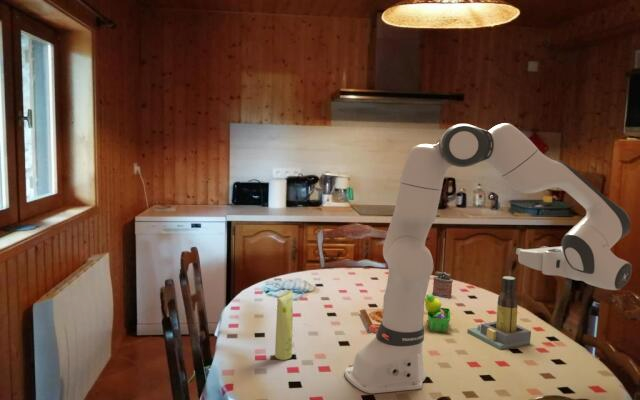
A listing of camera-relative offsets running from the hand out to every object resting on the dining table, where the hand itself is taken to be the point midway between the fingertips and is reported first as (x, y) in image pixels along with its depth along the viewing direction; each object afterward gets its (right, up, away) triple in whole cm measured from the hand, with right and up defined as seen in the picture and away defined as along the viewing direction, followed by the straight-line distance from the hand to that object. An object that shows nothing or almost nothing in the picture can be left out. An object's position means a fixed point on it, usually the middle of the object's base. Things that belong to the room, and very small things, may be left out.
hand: (529, 249), depth 157 cm
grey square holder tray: (-3, -31, +20) cm, 37 cm away
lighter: (-11, -25, +64) cm, 69 cm away
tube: (-73, -32, 0) cm, 79 cm away
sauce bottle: (-1, -30, +19) cm, 36 cm away
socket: (-1, -30, +19) cm, 36 cm away
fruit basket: (-21, -30, +29) cm, 47 cm away
